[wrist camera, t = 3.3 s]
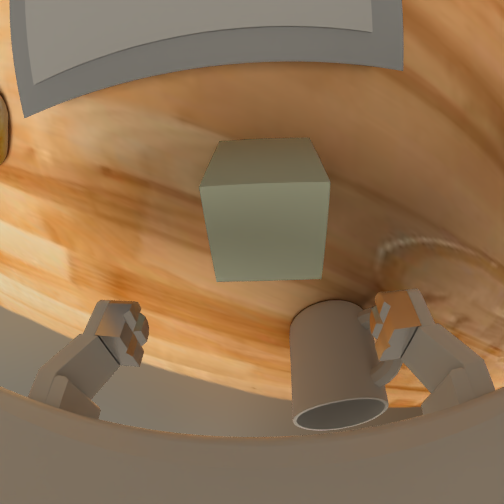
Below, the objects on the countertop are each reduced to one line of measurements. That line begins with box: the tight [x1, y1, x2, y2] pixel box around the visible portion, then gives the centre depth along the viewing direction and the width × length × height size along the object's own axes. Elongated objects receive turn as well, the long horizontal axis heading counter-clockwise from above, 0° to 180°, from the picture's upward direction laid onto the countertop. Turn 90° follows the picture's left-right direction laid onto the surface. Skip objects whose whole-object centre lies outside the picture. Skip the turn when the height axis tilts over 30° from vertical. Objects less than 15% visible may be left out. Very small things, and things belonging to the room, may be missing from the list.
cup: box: [290, 300, 403, 430], centre depth 21 cm, size 7×10×9 cm
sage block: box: [199, 138, 330, 282], centre depth 15 cm, size 5×5×6 cm
